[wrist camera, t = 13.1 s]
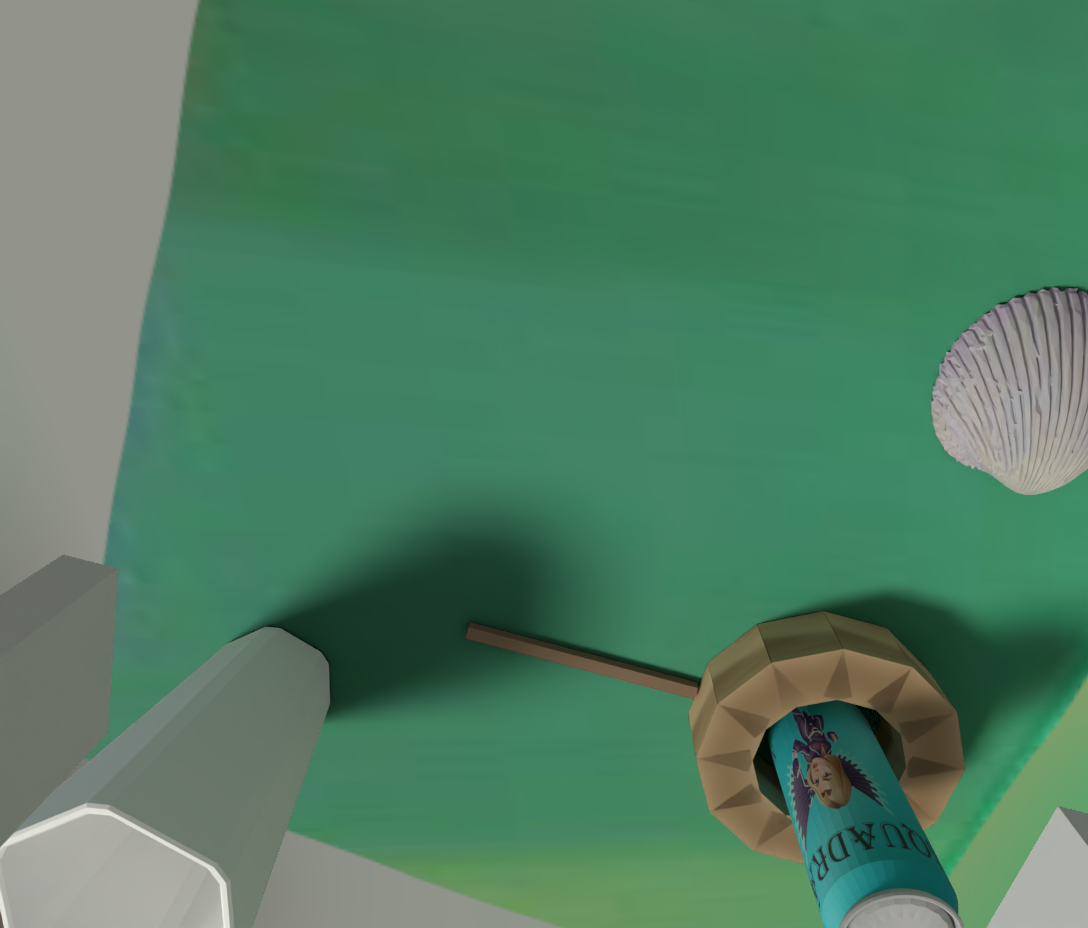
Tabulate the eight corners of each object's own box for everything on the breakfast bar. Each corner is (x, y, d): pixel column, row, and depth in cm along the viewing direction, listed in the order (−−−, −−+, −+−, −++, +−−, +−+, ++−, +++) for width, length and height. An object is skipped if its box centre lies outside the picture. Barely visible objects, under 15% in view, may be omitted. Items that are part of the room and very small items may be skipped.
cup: (189, 590, 47) (-28, 793, 31) (354, 605, 46) (223, 819, 30) (204, 744, 50) (17, 998, 34) (358, 759, 50) (241, 1024, 34)
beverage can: (822, 659, 45) (922, 867, 31) (879, 724, 46) (1001, 953, 32) (742, 712, 47) (803, 933, 33) (800, 773, 48) (883, 1013, 34)
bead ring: (736, 587, 44) (749, 623, 40) (972, 650, 44) (1006, 692, 41) (663, 780, 49) (668, 828, 45) (877, 836, 49) (900, 889, 45)
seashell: (933, 511, 39) (989, 321, 34) (901, 456, 44) (946, 282, 39) (1149, 520, 38) (1241, 327, 33) (1093, 463, 43) (1165, 286, 38)
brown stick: (470, 622, 46) (468, 627, 46) (696, 682, 46) (698, 688, 46) (467, 633, 46) (465, 638, 46) (692, 693, 47) (693, 699, 46)
